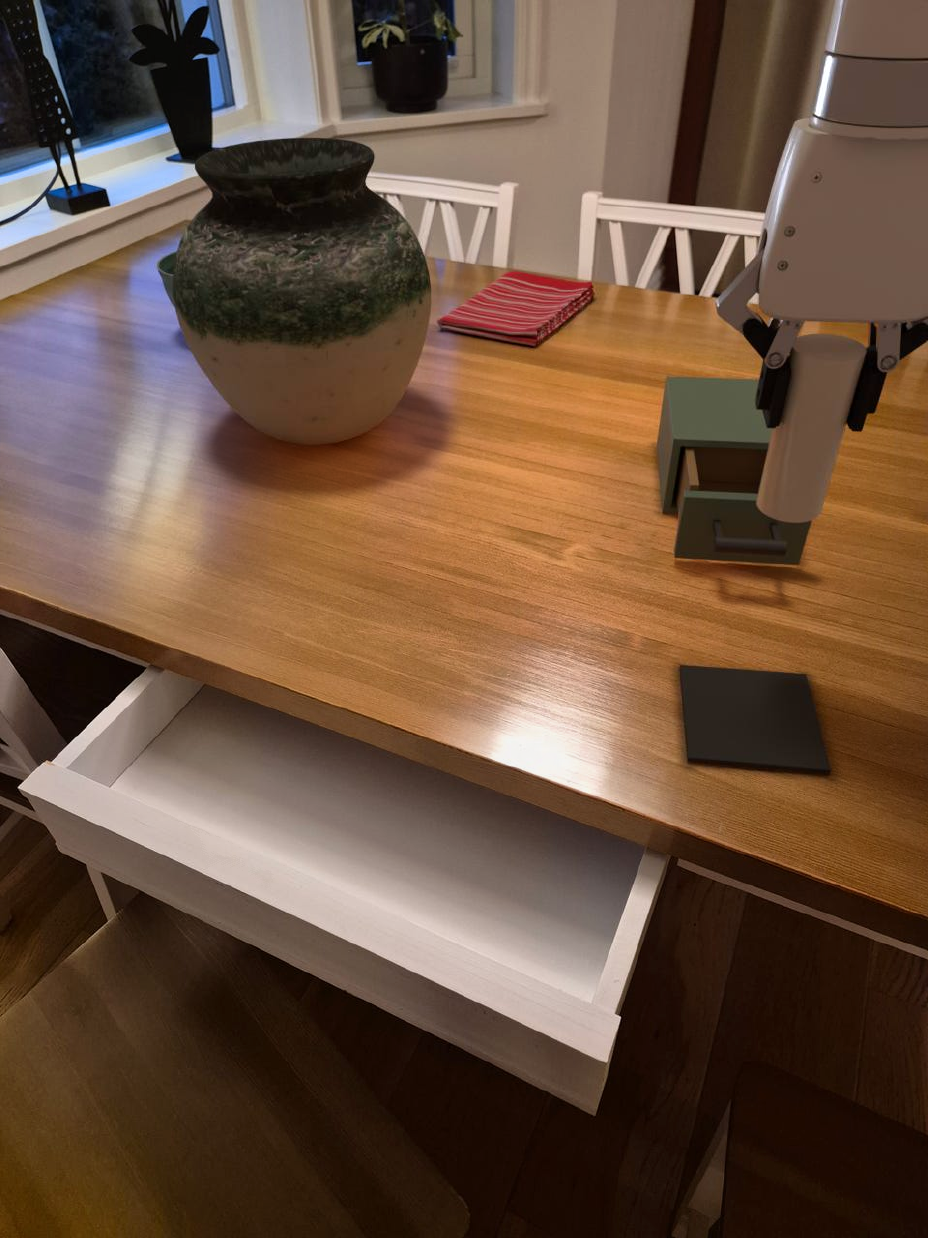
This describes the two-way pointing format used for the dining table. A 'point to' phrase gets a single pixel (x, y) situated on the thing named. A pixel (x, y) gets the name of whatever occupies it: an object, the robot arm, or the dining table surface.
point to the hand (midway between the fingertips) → (810, 417)
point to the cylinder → (810, 426)
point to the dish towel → (519, 308)
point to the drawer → (729, 510)
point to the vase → (301, 289)
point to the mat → (751, 720)
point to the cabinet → (706, 423)
